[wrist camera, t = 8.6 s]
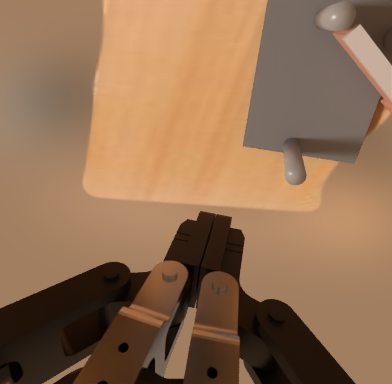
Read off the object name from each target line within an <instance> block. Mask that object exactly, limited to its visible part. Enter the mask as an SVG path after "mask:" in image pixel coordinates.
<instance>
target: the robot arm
mask: <svg viewBox="0 0 392 384" xmlns="http://www.w3.org/2000/svg"><path fill="white" fill-rule="evenodd" d="M215 217H216V218H215ZM231 219H232V217H228V216H224V215H218V214H217V215H216V214H213V213H208V212H203V211H200V213H199V216H198V218H197V221H194V220H189V219H187V220H186V221H185V222H183V223H182V224H181V225H180V227H179V229H178V231H177V234H176V235H175V237H174V240H173V241H172V244H171V246H170V248H169V250H168V252H167V255H166V257H165V259H164V261H163V262H161V263H159V264H157V265H156V266H155V267H154V268H153V270H152V271H149V272H139V273H130V270H129V268H128V267H127V266H126V265H125V264H123V263H120V262H109V263H105V264H103V265H100V266H98V267H96V268H93V269H91V270H89V271H86V272H84V273H82V274H79V275H77V276H75V277H73V278H70V279H68V280H65V281H63V282H61V283H58V284H56V285H54V286H51V287H49V288H47V289H45V290H42V291H40V292H37V293H35V294H33V295H30V296H28V297H26V298H23V299H21V300H19V301H16V302H14V303H12V304H9V305H7V306H5V307H3V308H0V384H42V383H44V382H46V381H47V380H49V379H51V378H52V377H54V376H56V375H57V374H59V373H61V372H62V371H64V370H66V369H67V368H69V367H70V366H72V365H74V364H76V363H77V362H79V361H81V360H82V359H84V358H86V357H87V356H89V355H91V356H90V357H89V359H88V361H87V362H86V364H85V365H84V367H82V368H79V369H77V370H75V371H73V372H71V373H69V374H67V375H66V376H64V377H63V378H61V379H60V380H58V381H57V382H55V383H54V384H239V358H241V359H243V361H244V365H245V368H246V370H247V371H248V373H249V375H250V377H251V378H252V380H253V382H254V383H255V384H355V383H354V382H353V380H352V379H351V378H350V377H349V376H348V374H347V373H346V372H345V371H344V370H343V369H342V367H341V366H340V365H339V364H338V363H337V361H336V360H335V359H334V358H333V357H332V356H331V354H330V353H329V352H328V351H327V350H326V349H325V347H324V346H323V345H322V344H321V342H320V341H319V340H318V339H317V338H316V337H315V335H314V334H313V333H312V332H311V331H310V329H309V328H308V327H307V326H306V325H305V324H304V322H303V321H302V320H301V319H300V318H299V316H297V314H296V313H295V312H294V311H293V310H292V308H291V307H290V306H288V305H287V304H285V303H284V302H282V301H279V300H275V299H267V300H264V301H262V302H259V301H257V300H255V299H253V298H251V297H250V296H249V295H247V294H246V293H245V292H244V291H243V289H242V288H241V286H240V283H239V276H240V268H241V262H242V254H243V247H244V239H245V238H244V235H243V233H242V231H241V230H239V229H234V228H230V225H231ZM196 300H197V303H196ZM195 303H196V308H197V312H196V317H195V323H194V327H193V331H192V336H191V342H190V347H189V353H188V359H187V365H186V370H185V376H184V379H166V378H164V374H165V370H166V367H167V364H168V362H169V359H170V356H171V354H172V351H173V349H174V346H175V344H176V341H177V339H178V336H179V334H180V331H181V329H182V326H183V323H184V318H185V315H186V313H187V309H188V307H192V308H194V307H195Z"/></svg>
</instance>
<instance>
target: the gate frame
mask: <svg viewBox="0 0 392 384" xmlns="http://www.w3.org/2000/svg"><path fill="white" fill-rule="evenodd" d="M357 24H360V25H361V26H362V27H363V28H364V30H365V31H366V32H367V34H368V35H369V36H370V38H371V39H372V40H373V42H374V43H375V44H376V46H377V47H378V48H379V49H380V51H381V52H382V53H383V55H384V56H385V57H386V59H387V60H388V61H389V63H390V64H391V65H392V0H268V2H267V8H266V14H265V20H264V26H263V31H262V37H261V43H260V49H259V55H258V60H257V66H256V72H255V78H254V84H253V90H252V95H251V101H250V107H249V113H248V119H247V124H246V130H245V136H244V142H243V146H245V147H251V148H258V149H264V150H270V151H277V152H283V153H284V165H285V177H286V180H287V182H288V183H289V184H292V185H299V184H301V183H303V182H304V181H305V179H306V171H305V167H304V162H303V158H302V156H308V157H315V158H321V159H328V160H334V161H340V162H348V163H355V161H356V158H357V156H358V153H359V150H360V148H361V146H362V143H363V140H364V138H365V135H366V133H367V130H368V128H369V125H370V123H371V120H372V118H373V115H374V112H375V110H376V107H377V105H378V102H379V100H380V97H381V95H380V93H379V92H378V91H377V90H376V88H375V87H374V86H373V84H372V83H371V82H370V81H369V79H368V78H367V77H366V76H365V74H364V73H363V72H362V71H361V69H360V68H359V67H358V66H357V64H356V63H355V62H354V61H353V59H352V58H351V57H350V55H349V54H348V53H347V52H346V50H345V49H344V48H343V47H342V45H341V44H340V43H339V42H338V40H337V39H336V38H335V37H334V35H333V33H334V32H335V31H343V30H346V29H347V28H349V27H355V26H356V25H357Z"/></svg>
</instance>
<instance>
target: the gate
mask: <svg viewBox="0 0 392 384" xmlns="http://www.w3.org/2000/svg"><path fill="white" fill-rule="evenodd" d="M333 35H334V37H335V38H336V39H337V40H338V42H339V43H340V44H341V45H342V47H343V48H344V49H345V50H346V52H347V53H348V54H349V55H350V57H351V58H352V59H353V61H354V62H355V63H356V64H357V66H358V67H359V68H360V69H361V71H362V72H363V73H364V74H365V76H366V77H367V78H368V79H369V81H370V82H371V83H372V84H373V86H374V87H375V88H376V90H377V91H378V92H379V93H380V95H381V96H382V97H383V98H384V99H382V100H381V101H380V102H381V103H382V104H383V105H384V107H385V108H386V109H387V110H388V111H390V112H391V113H392V65H391V64H390V63H389V61H388V60H387V59H386V57H385V56H384V55H383V53H382V52H381V51H380V49H379V48H378V47H377V46H376V44H375V43H374V42H373V40H372V39H371V38H370V36H369V35H368V34H367V32H366V31H365V30H364V28H363V27H362V26H361V25H360V24H357V25H356V26H355V27H349V28H347V29H346V30H343V31H335V32H334V33H333Z"/></svg>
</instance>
